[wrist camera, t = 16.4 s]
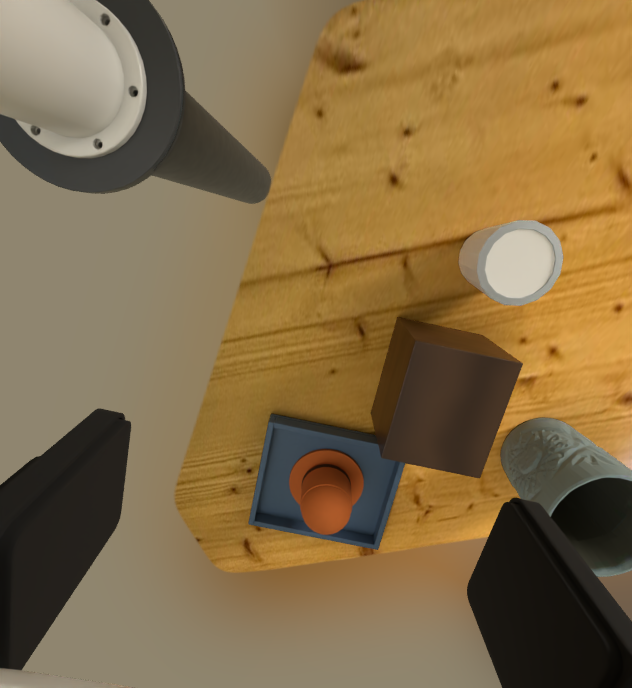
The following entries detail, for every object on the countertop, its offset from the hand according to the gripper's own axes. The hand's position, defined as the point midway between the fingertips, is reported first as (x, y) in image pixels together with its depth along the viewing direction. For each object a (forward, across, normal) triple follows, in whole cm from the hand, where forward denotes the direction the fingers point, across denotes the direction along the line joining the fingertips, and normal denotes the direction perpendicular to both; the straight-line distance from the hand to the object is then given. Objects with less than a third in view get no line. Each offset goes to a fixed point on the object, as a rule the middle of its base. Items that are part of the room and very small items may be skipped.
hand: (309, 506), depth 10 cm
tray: (+32, -6, +21) cm, 39 cm away
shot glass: (+32, -15, -7) cm, 36 cm away
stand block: (+32, -13, +6) cm, 35 cm away
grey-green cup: (+32, -28, +12) cm, 44 cm away
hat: (+32, -6, +21) cm, 38 cm away
